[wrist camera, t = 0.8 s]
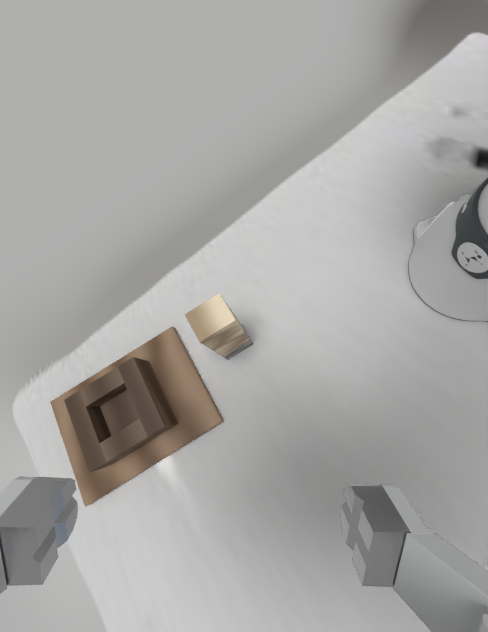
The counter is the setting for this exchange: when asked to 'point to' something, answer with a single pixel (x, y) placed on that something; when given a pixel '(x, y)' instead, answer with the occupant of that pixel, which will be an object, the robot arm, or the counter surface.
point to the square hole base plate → (133, 414)
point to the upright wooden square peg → (218, 327)
